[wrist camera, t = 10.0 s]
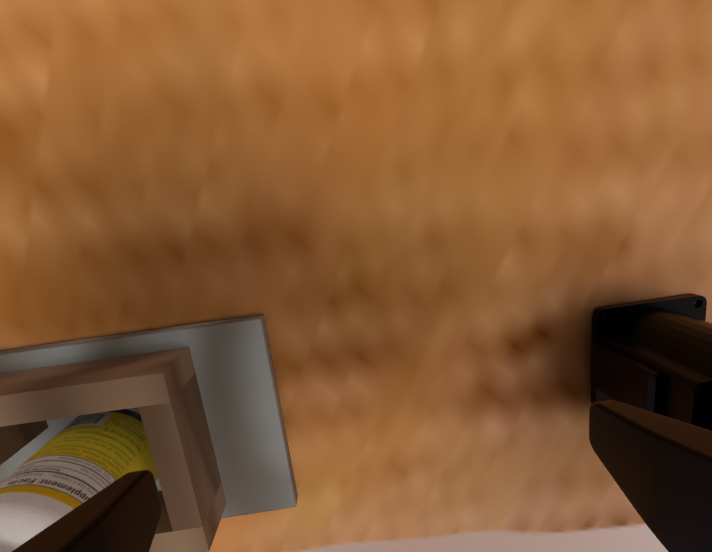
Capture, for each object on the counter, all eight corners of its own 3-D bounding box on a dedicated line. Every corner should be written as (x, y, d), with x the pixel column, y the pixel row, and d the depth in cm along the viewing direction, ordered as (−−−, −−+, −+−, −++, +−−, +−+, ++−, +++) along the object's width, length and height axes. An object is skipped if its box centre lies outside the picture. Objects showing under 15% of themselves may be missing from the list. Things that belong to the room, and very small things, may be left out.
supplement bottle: (146, 498, 21) (-14, 748, 11) (56, 457, 20) (-198, 689, 11) (190, 427, 20) (59, 630, 11) (99, 381, 19) (-133, 557, 10)
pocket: (263, 314, 20) (246, 340, 16) (297, 496, 22) (289, 554, 19) (-68, 360, 19) (-164, 397, 16) (4, 540, 22) (-63, 610, 18)
